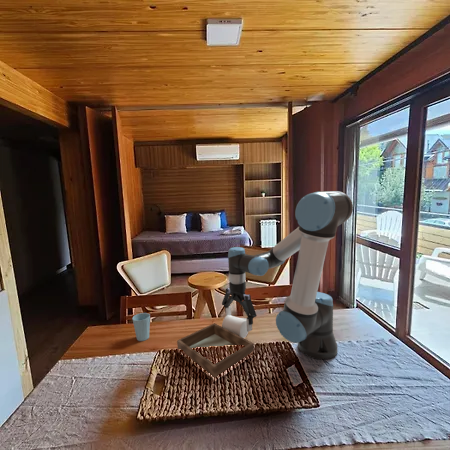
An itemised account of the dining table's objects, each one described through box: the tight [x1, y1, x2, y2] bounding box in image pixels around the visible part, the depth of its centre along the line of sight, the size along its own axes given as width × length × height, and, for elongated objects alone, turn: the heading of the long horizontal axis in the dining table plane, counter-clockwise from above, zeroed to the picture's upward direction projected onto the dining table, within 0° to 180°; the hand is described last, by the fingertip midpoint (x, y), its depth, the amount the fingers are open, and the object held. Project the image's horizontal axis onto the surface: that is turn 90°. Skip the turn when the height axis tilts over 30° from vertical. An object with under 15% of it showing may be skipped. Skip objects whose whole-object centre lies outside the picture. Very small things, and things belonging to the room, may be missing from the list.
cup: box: [131, 312, 151, 342], centre depth 123 cm, size 8×8×10 cm
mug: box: [221, 314, 249, 339], centre depth 124 cm, size 12×10×8 cm
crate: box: [176, 322, 255, 377], centre depth 108 cm, size 24×20×6 cm
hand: (238, 325), depth 124 cm, fingers open, 13 cm apart
